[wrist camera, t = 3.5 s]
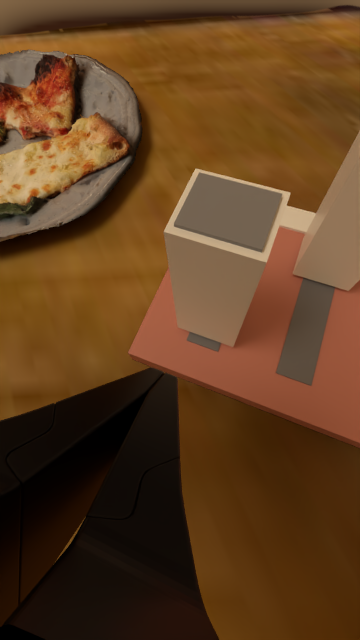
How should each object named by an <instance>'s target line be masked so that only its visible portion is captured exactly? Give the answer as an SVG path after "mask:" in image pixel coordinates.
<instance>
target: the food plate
mask: <svg viewBox="0 0 360 640" xmlns="http://www.w3.org/2000/svg"><path fill="white" fill-rule="evenodd" d="M80 114H81V116H84V117H81V116H80ZM77 119H78V120H77ZM140 122H141V113H140V110H139V103H138V100H137V97H136V94H135V93H134V91H133V88H132V87H131V86H130V85H129V82H128V81H126V80H125V79H124V78H123V77H122V76H120V75H119V74H118V73H116V72H115V71H113V70H111V69H110V68H108V67H106V66H105V65H103V64H102V63H100V62H98V61H97V60H96V59H93V58H91V57H89V56H85V55H78V54H73V55H67V54H66V53H65V54H64V53H63V52H60V51H53V52H39V51H34V50H24V51H21V52H20V53H19V51H17V52H14V54H13V53H10V52H9V53H7V54H4V55H2V54H1V55H0V242H1V241H4V240H7V239H12V238H14V237H17V236H20V235H22V236H23V235H26V234H30V233H33V232H37V231H39V230H43V229H48V228H50V227H55V226H56V225H57V226H58V227H59V226H61V225H64V224H65V223H68V222H70V221H71V220H74V219H76V218H79V217H80V216H82V215H85V214H87V213H88V212H89V210H90V211H91V210H93V209H95V208H96V207H97V206H98V205H99V204H100V203H101V202H102V201H103V200H104V199H106V196H107V195H108V194H109V193H110V191H111V190H113V188H114V186H115V185H116V184H117V182H119V180H120V179H121V177H122V176H123V174H125V173H126V171H128V169H130V166H131V165H132V164H133V162H134V160H135V155H136V150H137V149H136V148H137V147H138V145H139V143H140V141H141V137H142V125H141V123H140ZM42 140H45V141H42ZM59 223H61V225H59Z"/></svg>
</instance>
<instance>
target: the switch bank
mask: <svg viewBox="0 0 360 640" xmlns="http://www.w3.org/2000/svg"><path fill="white" fill-rule="evenodd" d="M315 215H316V213H313V212H309V211H305V210H301V209H297V208H294V207H290V206H286V208H285V211H284V214H283V217H282V220H281V222H280V225H279V228H278V231H277V234H276V237H275V240H274V243H273V246H272V249H271V252H270V255H269V257H268V260H267V263H266V266H265V268H264V271H263V273H262V276H261V278H260V281H259V283H258V286H257V288H256V291H255V293H254V296H253V298H252V301H251V303H250V306H249V309H248V311H247V314H246V316H245V319H244V321H243V324H242V326H241V329H240V331H239V334H238V336H237V339H236V341H235V344H234V346H233V347H231V346H228V345H225V344H223V343H220V342H217V341H214V340H212V339H209V338H206V337H203V336H200V335H198V334H195V333H192V332H189V331H187V330H184V329H181V328H178V325H177V318H176V312H175V305H174V298H173V291H172V284H171V278H170V271H169V268H168V270H167V272H166V274H165V276H164V278H163V280H162V282H161V284H160V287H159V289H158V291H157V293H156V295H155V297H154V299H153V301H152V303H151V305H150V308H149V310H148V312H147V314H146V316H145V318H144V320H143V322H142V324H141V327H140V329H139V331H138V333H137V335H136V337H135V339H134V341H133V343H132V346H131V348H130V350H129V352H128V354H129V355H130V357H131V358H132V359H133V360H135V361H138V362H141V363H143V364H146V365H148V366H151V367H153V368H156V369H158V370H161V371H164V372H166V373H169V374H171V375H174V376H176V377H179V378H181V379H184V380H187V381H189V382H192V383H194V384H197V385H199V386H202V387H204V388H207V389H210V390H212V391H215V392H217V393H220V394H222V395H225V396H227V397H230V398H233V399H235V400H238V401H240V402H243V403H245V404H248V405H251V406H253V407H256V408H258V409H261V410H263V411H266V412H268V413H271V414H274V415H276V416H279V417H281V418H284V419H286V420H289V421H291V422H294V423H297V424H299V425H302V426H304V427H307V428H309V429H312V430H314V431H317V432H320V433H322V434H325V435H327V436H330V437H332V438H335V439H337V440H340V441H343V442H345V443H348V444H350V445H353V446H355V447H358V448H360V280H359V281H358V282H357V283H356V284H355V285H354V286H353V287H352V288H351V289H350V290H349V291H347V290H343V289H340V288H337V287H334V286H330V285H327V284H324V283H320V282H317V281H314V280H310V279H307V278H304V277H301V276H297V275H294V274H293V270H294V267H295V264H296V260H297V257H298V254H299V251H300V247H301V244H302V241H303V238H304V236H305V234H306V232H307V230H308V228H309V226H310V224H311V222H312V220H313V219H314V217H315Z"/></svg>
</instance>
